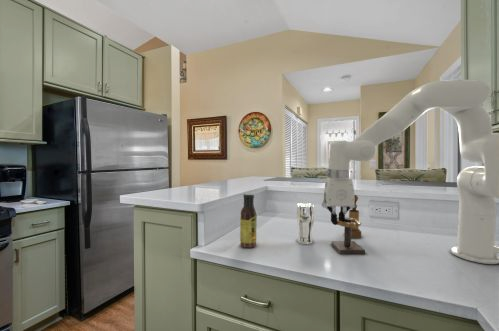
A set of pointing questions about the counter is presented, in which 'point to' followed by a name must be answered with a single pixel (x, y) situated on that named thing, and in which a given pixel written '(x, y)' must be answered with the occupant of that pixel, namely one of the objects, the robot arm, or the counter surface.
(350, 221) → the peg stand
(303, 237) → the beer glass
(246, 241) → the sauce bottle
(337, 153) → the robot arm
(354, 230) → the brown knobbed post
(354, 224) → the ring
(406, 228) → the counter surface
